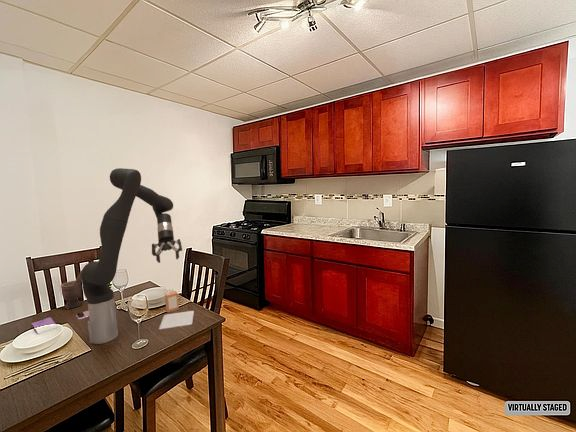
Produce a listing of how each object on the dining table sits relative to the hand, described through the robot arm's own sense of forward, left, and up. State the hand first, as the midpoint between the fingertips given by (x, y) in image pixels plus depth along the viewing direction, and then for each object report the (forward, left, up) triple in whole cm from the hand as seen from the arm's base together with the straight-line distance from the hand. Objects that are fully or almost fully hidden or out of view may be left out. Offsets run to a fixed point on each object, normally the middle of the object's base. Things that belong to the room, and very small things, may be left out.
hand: (168, 260), depth 137 cm
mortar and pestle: (-52, +22, -26) cm, 62 cm away
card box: (0, -1, -26) cm, 26 cm away
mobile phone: (-39, +10, -27) cm, 48 cm away
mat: (+4, -13, -26) cm, 30 cm away
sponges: (-56, 0, -27) cm, 62 cm away
